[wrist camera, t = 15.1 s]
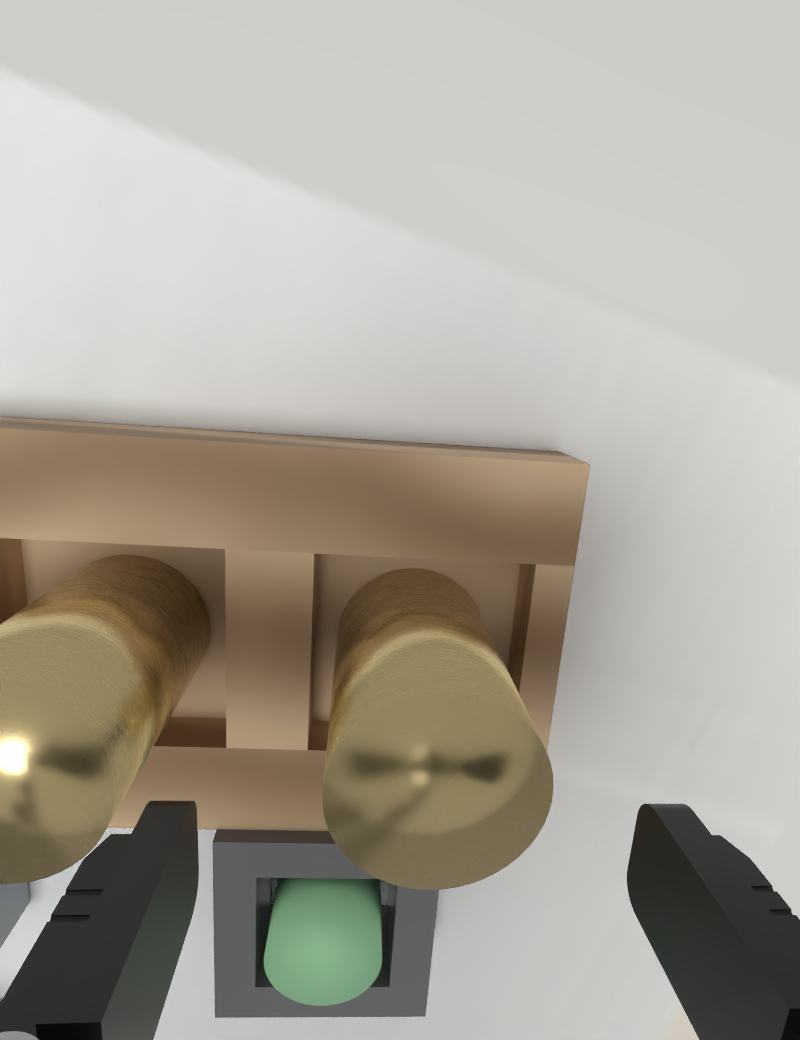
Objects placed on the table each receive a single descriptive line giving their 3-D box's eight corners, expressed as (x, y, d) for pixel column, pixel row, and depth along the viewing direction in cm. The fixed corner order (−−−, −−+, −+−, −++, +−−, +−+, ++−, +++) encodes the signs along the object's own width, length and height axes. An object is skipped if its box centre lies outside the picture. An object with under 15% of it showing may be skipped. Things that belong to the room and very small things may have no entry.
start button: (376, 913, 21) (378, 1005, 18) (278, 912, 21) (263, 1005, 18) (383, 832, 20) (385, 914, 17) (280, 830, 20) (264, 913, 17)
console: (417, 932, 22) (425, 1016, 20) (235, 932, 22) (215, 1017, 19) (432, 779, 21) (443, 845, 18) (235, 774, 20) (212, 842, 17)
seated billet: (212, 695, 18) (121, 884, 12) (62, 691, 18) (-122, 883, 11) (209, 557, 17) (106, 678, 10) (49, 551, 17) (-163, 671, 10)
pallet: (514, 781, 21) (533, 834, 19) (27, 769, 20) (-20, 825, 17) (560, 452, 18) (589, 464, 16) (-10, 415, 17) (-73, 423, 14)
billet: (473, 705, 19) (534, 891, 12) (332, 698, 19) (315, 887, 12) (491, 573, 18) (570, 698, 11) (342, 563, 17) (329, 686, 11)
